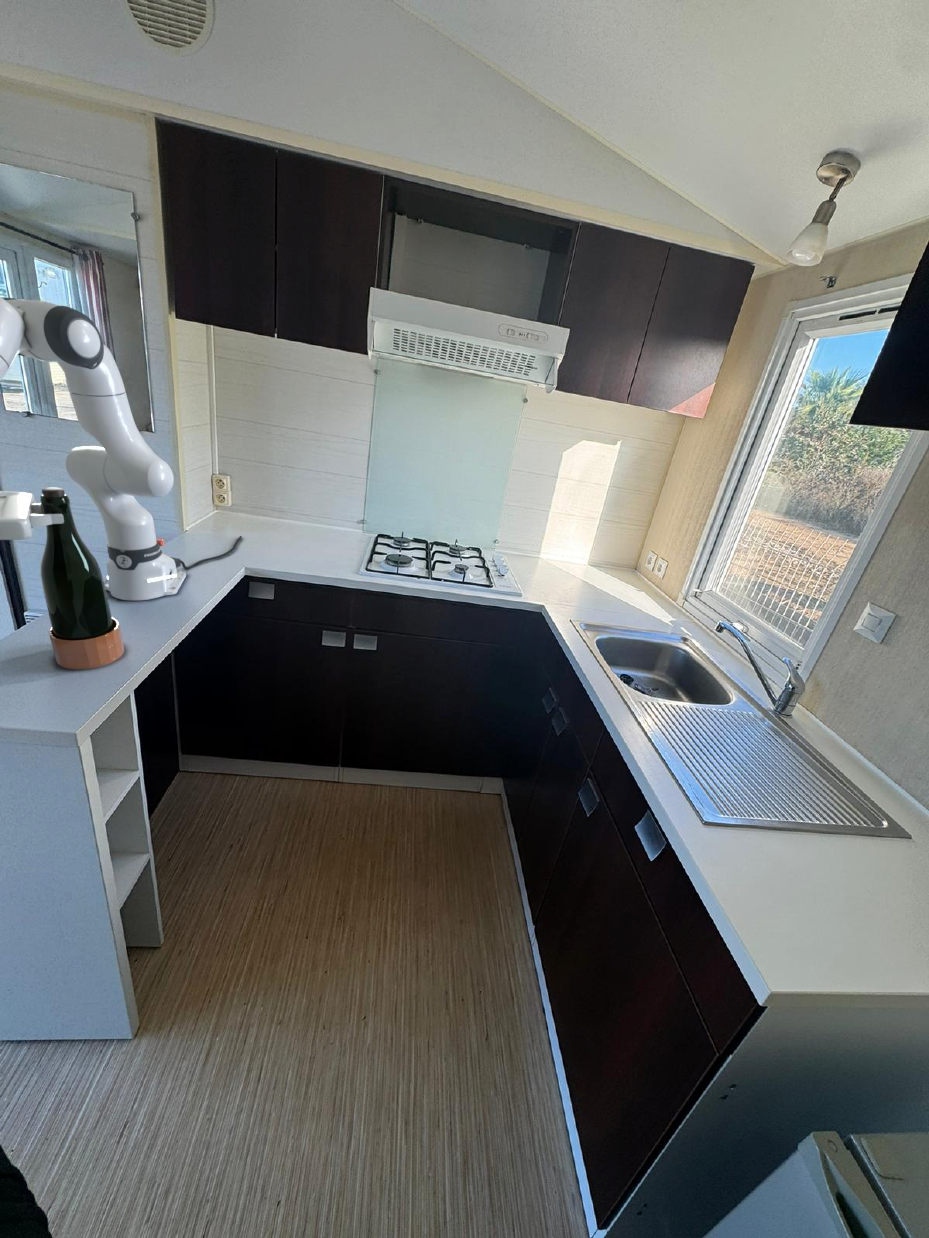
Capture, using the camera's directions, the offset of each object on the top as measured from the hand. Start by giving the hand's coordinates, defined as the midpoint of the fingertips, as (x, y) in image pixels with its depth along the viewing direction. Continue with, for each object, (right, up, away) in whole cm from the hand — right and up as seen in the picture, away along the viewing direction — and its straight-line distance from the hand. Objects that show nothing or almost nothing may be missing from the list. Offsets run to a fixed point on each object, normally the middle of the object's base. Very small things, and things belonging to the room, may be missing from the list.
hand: (63, 514), depth 95 cm
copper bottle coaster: (-5, -29, +14) cm, 32 cm away
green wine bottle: (-5, -25, +12) cm, 28 cm away
